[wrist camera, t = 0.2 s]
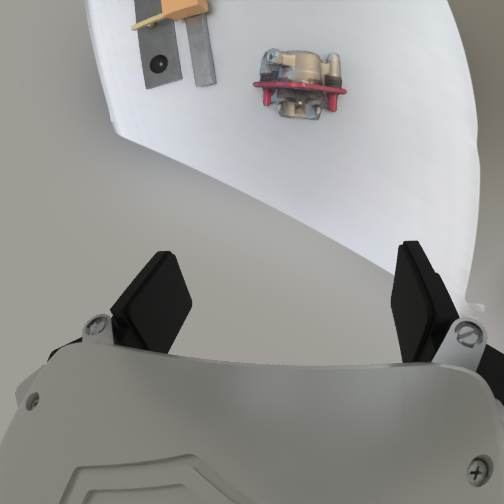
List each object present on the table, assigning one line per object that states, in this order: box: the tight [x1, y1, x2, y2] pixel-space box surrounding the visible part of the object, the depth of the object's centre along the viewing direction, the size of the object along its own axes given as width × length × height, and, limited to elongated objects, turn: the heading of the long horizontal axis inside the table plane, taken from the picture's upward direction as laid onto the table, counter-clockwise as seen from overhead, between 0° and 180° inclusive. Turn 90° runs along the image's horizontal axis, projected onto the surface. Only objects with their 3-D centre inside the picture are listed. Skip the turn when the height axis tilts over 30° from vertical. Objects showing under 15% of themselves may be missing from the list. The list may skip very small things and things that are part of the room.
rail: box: [185, 12, 216, 87], centre depth 27 cm, size 24×2×2 cm, turn 8°
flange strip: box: [134, 0, 182, 89], centre depth 28 cm, size 23×6×1 cm, turn 8°
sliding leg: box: [131, 0, 209, 31], centre depth 25 cm, size 3×12×5 cm, turn 98°
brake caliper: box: [253, 49, 347, 120], centre depth 28 cm, size 11×11×12 cm
